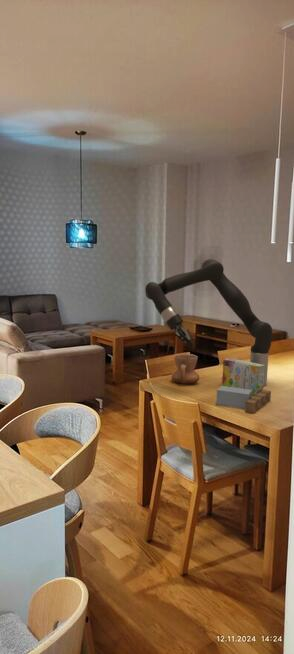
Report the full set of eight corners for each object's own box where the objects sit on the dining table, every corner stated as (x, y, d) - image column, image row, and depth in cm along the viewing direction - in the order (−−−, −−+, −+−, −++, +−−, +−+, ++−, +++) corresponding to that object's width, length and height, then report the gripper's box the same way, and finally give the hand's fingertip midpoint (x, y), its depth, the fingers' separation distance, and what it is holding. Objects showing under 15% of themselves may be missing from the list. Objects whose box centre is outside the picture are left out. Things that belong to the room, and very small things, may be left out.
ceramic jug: (175, 377, 259) (176, 351, 257) (202, 379, 255) (202, 353, 252) (167, 386, 242) (167, 358, 240) (195, 388, 238) (196, 361, 236)
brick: (220, 400, 219) (221, 385, 218) (251, 405, 214) (252, 389, 213) (216, 405, 212) (217, 389, 211) (247, 409, 206) (248, 394, 205)
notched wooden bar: (262, 399, 223) (263, 389, 222) (270, 400, 221) (270, 391, 220) (245, 412, 202) (245, 402, 202) (252, 413, 201) (253, 403, 200)
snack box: (263, 395, 230) (265, 364, 228) (256, 397, 226) (259, 366, 224) (227, 385, 245) (229, 357, 243) (220, 387, 241) (222, 358, 239)
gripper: (172, 313, 220) (193, 344, 216) (182, 312, 232) (203, 341, 228) (160, 323, 223) (181, 353, 219) (171, 322, 234) (191, 350, 231)
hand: (192, 347), depth 223 cm, fingers closed
